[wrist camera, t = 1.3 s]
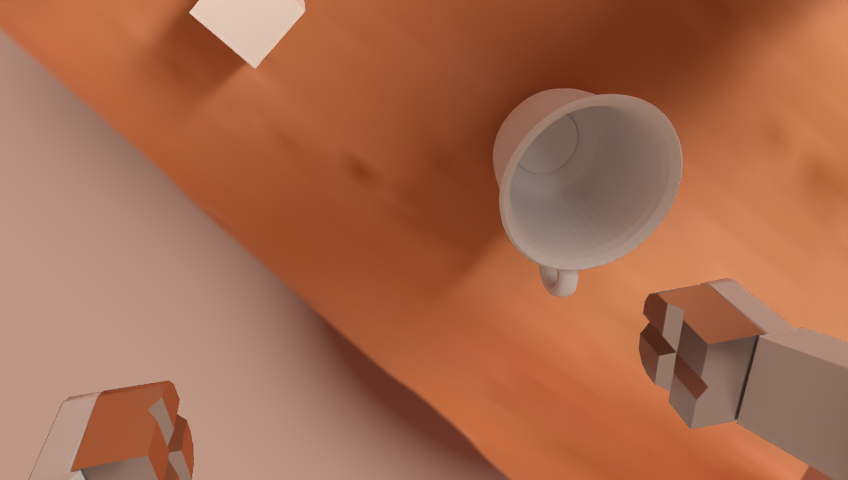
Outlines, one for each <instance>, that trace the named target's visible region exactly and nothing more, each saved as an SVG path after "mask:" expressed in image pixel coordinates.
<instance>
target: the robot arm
mask: <svg viewBox="0 0 848 480" xmlns="http://www.w3.org/2000/svg"><path fill="white" fill-rule="evenodd" d="M643 314H644V315H645V317H646V318H647V319H648V320H649V323H648V324H647V326H646V327H645V328H644V330H643V331H642V332H641V333H640V342H639V352H640V357H641V361H642V365H643V367H644V369H645V371H646V373H647V375H648V376H649V377H650V379H651V380H652V381H653V383H654V384H655V385H657V386H660V387H662V388H664V389H666V390H668V391H670V395H669V403H670V404H671V405H672V407H673V408H674V409H675V410H676V412H677V413H678V414H679V415H680V417H681V418H682V419H683V420H684V422H685V423H686V424H687V425H688V427H689V428H690V429H695V428H701V427H706V426H711V425H717V424H722V423H727V422H732V421H737V423H738V424H739V425H741V426H743V427H744V428H746V429H748V430H750V431H751V432H753V433H755V434H756V435H758V436H760V437H762V438H763V439H765V440H767V441H769V442H770V443H772V444H774V445H775V446H777V447H779V448H781V449H782V450H784V451H786V452H787V453H789V454H791V455H793V456H794V457H796V458H798V459H799V460H801V461H803V462H805V463H806V464H808V465H810V466H812V467H813V468H815V469H817V470H818V471H820V472H822V473H824V474H825V475H827V476H829V477H830V478H832V479H834V480H848V342H846V341H843V340H840V339H837V338H834V337H831V336H828V335H825V334H822V333H819V332H816V331H813V330H810V329H807V328H804V327H802V328H796V329H795V328H794V327H792V326H791V325H790V324H789V323H787V322H786V321H785V320H784V319H782V318H781V317H780V316H779V315H778V314H776V313H775V312H774V311H773V310H771V309H770V308H769V307H768V306H766V305H765V304H764V303H763V302H761V301H760V300H759V299H758V298H756V297H755V296H754V295H753V294H752V293H750V292H749V291H748V290H747V289H745V288H744V287H743V286H742V285H740V284H739V283H738V282H737V281H735V280H732V279H728V278H725V279H720V280H716V281H711V282H706V283H701V284H700V285H695V286H690V287H684V288H679V289H674V290H668V291H663V292H657V293H652V294H649V295H648V297H647V299H646V300H645V304H644V311H643ZM178 405H179V397H178V394H177V392H176V390H175V386H174V384H173V383H171V382H170V381H164V382H157V383H151V384H144V385H138V386H132V387H126V388H119V389H114V390H107V391H103V392H97V393H90V394H85V395H79V396H73V397H69V398H68V399H66V400H65V401H64V402H63V403H62V404H61V407H60V409H59V411H58V414H57V416H56V418H55V420H54V423H53V425H52V427H51V430H50V432H49V434H48V436H47V439H46V441H45V443H44V446H43V448H42V450H41V453H40V455H39V457H38V460H37V462H36V464H35V466H34V468H33V471H32V473H31V475H30V477H29V480H192V473H193V466H194V457H193V442H192V437H191V432H190V429H189V426H188V423H187V420H186V419H184V418H182V417H181V416H179V415H178V414H177V410H178Z"/></svg>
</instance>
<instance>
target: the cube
mask: <svg viewBox="0 0 848 480" xmlns="http://www.w3.org/2000/svg"><path fill="white" fill-rule="evenodd" d="M304 12H305V3H304V0H199V1H198V2H197V3H196V5H195V6H194V7H193V8H192V10H191V11H190V12H189V13H190V14H191V15H192V16H193V17H195V18H196V19H197V20H198V21H199V22H201V23H202V24H203V25H204V26H205V27H206V28H208V29H209V30H210V31H211V32H212V33H213V34H215V35H216V36H217V37H218V38H219V39H221V40H222V41H223V42H224V43H225V44H226V45H228V46H229V47H230V48H231V49H232V50H233V51H235V52H236V53H237V54H238V55H239V56H241V57H242V58H243V59H244V60H245V61H246V62H248V63H249V64H250V65H251V66H252V67H253V68H256V67H257V66H258V65H259V63H260V62H261V61H262V60H263V59H264V58H265V57H266V56H267V54H268V53H269V52H270V51H271V50H272V49H273V48H274V46H275V45H276V44H277V43H278V42H279V41H280V40H281V38H282V37H283V36H284V35H285V34H286V33H287V32H288V30H289V29H290V28H291V27H292V26H293V25H294V24H295V22H296V21H297V20H298V19H299V18H300V17H301V16H302V14H303V13H304Z"/></svg>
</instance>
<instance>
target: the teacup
mask: <svg viewBox="0 0 848 480" xmlns="http://www.w3.org/2000/svg"><path fill="white" fill-rule="evenodd" d="M493 167H494V172H495V176H496V180H497V183H498V186H499V189H500V195H499V208H500V216H501V220H502V224H503V227H504V229H505V232H506V234H507V236H508V238H509V239H510V241H511V243H512V244H513V245H514V246H515V248H516V249H517V250H518V251H519V252H520V253H521V254H522V255H523V256H525V257H526V258H528V259H529V260H531V261H532V262H534V263H536V264H539V268H540V275H541V278H542V282H543V284H544V286H545V288H546V289H547V291H548V292H549V293H550V294H552V295H554V296H557V297H566V296H570V295H571V294H573V293H574V291H575V289H576V287H577V283H578V270H585V269H590V268H595V267H598V266H602V265H605V264H608V263H610V262H612V261H615V260H617V259H619V258H620V257H622V256H624V255H626V254H627V253H629V252H630V251H632V250H633V249H635V248H636V247H637V246H639V245H640V244H641V243H642V242H643V241H644V240H646V239H647V238H648V237H649V236H650V235H651V234H652V232H653V231H654V230H655V229H656V228H657V227H658V225H659V224H660V223H661V222H662V221H663V219H664V217H665V216H666V214H667V213H668V211H669V210H670V208H671V206H672V204H673V202H674V200H675V198H676V195H677V192H678V190H679V186H680V182H681V178H682V168H683V158H682V150H681V144H680V141H679V138H678V135H677V133H676V131H675V129H674V127H673V125H672V123H671V122H670V120H669V119H668V118H667V116H666V115H665V114H664V113H663V112H662V111H660V110H659V109H658V108H657V107H655V106H654V105H652V104H651V103H649V102H647V101H644V100H642V99H640V98H637V97H633V96H629V95H621V94H601V95H596V94H593V93H590V92H586V91H582V90H578V89H571V88H557V89H550V90H545V91H542V92H539V93H537V94H534V95H532V96H530V97H529V98H527V99H525V100H524V101H523V102H521V103H520V104H519V105H518V106H517V107H516V108H515V109H513V110H512V112H511V113H510V114H509V115H508V116H507V118H506V119H505V121H504V122H503V124H502V125H501V127H500V129H499V131H498V134H497V136H496V139H495V143H494V148H493Z"/></svg>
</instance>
